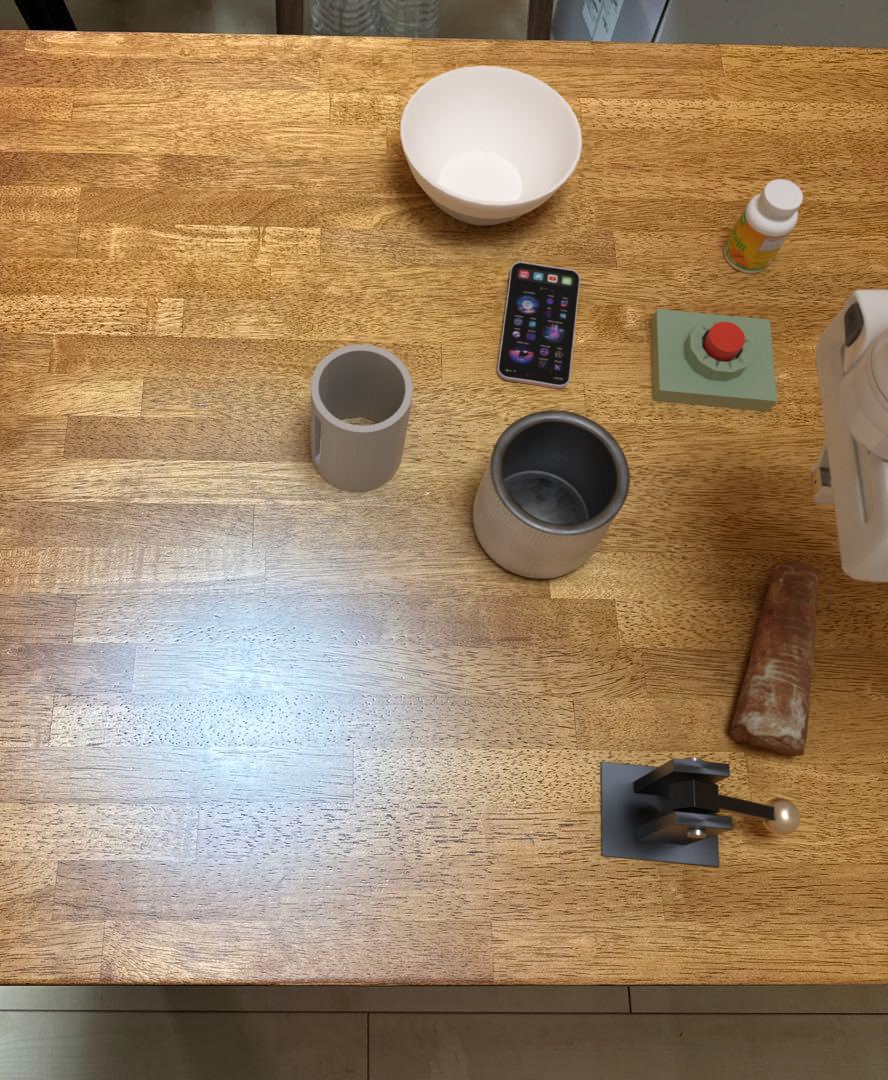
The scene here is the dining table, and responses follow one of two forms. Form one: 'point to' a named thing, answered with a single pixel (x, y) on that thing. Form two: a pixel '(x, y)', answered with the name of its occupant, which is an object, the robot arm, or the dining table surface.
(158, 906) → the dining table surface
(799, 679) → the brown cured sausage
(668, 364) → the button box
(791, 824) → the lever
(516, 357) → the smartphone
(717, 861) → the lever base
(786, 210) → the supplement bottle
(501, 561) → the planter
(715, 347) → the button
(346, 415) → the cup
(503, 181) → the bowl
